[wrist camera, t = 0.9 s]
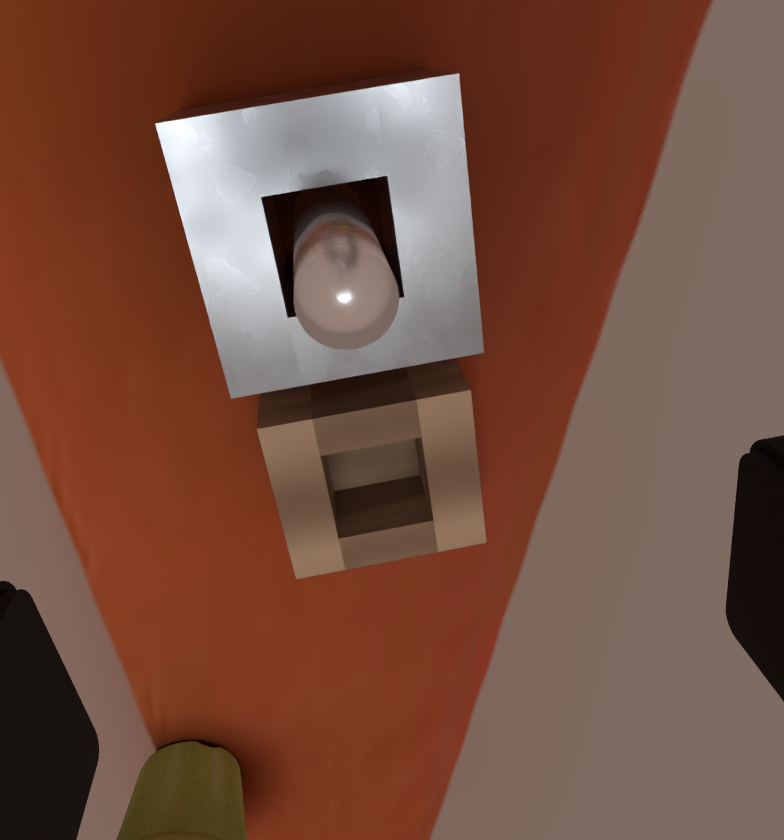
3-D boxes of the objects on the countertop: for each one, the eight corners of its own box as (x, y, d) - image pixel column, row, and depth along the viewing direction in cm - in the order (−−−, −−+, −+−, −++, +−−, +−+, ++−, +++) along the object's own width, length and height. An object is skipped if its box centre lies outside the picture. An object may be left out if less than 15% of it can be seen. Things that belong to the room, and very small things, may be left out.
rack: (261, 380, 34) (256, 429, 30) (447, 346, 35) (470, 389, 30) (295, 517, 38) (296, 579, 34) (464, 485, 38) (486, 542, 34)
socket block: (180, 109, 29) (155, 123, 23) (428, 68, 29) (459, 73, 24) (240, 343, 33) (231, 398, 28) (453, 304, 34) (484, 352, 29)
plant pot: (229, 699, 43) (215, 839, 36) (291, 791, 48) (291, 933, 40) (85, 750, 44) (41, 899, 36) (159, 836, 48) (135, 986, 41)
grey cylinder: (286, 184, 31) (283, 258, 20) (356, 173, 31) (391, 239, 20) (300, 255, 32) (305, 358, 21) (368, 243, 32) (405, 339, 21)
